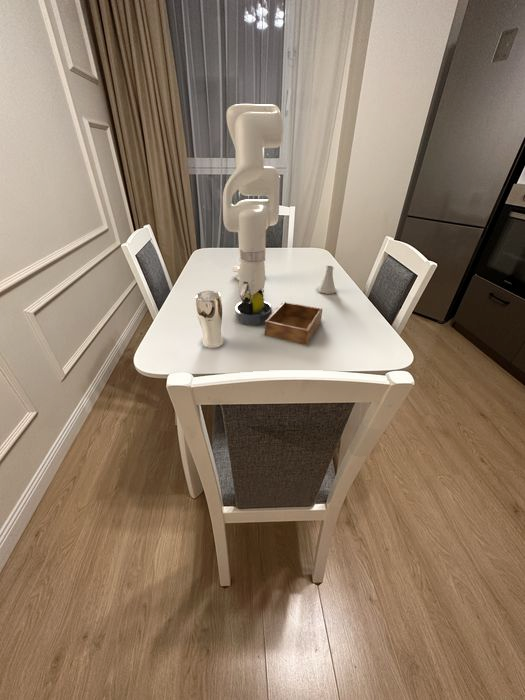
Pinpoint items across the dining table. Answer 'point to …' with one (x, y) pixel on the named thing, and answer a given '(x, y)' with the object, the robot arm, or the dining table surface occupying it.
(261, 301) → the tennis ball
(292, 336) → the wooden box
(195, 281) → the dining table surface
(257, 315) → the bowl
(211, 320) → the beer glass
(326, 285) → the flask
